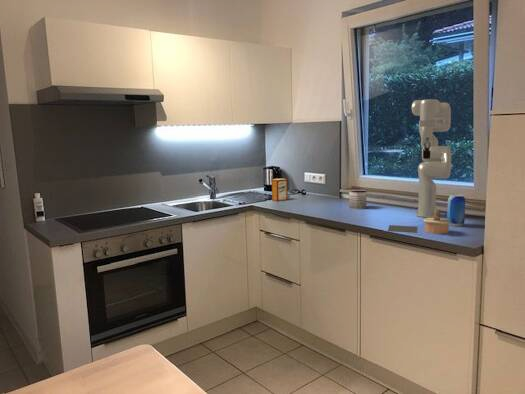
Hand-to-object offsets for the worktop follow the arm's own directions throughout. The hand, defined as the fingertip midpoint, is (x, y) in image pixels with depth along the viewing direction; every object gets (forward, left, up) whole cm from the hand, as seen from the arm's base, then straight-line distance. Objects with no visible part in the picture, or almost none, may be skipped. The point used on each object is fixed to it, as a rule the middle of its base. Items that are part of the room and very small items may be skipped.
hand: (426, 157), depth 223 cm
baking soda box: (-62, -99, -36) cm, 123 cm away
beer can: (-6, +16, -36) cm, 40 cm away
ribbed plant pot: (-45, -40, -36) cm, 70 cm away
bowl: (+13, +6, -36) cm, 38 cm away
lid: (+13, +6, -31) cm, 34 cm away
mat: (+12, -10, -36) cm, 39 cm away
